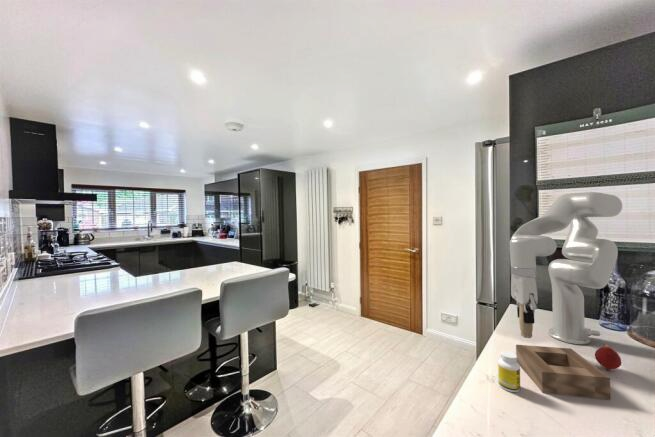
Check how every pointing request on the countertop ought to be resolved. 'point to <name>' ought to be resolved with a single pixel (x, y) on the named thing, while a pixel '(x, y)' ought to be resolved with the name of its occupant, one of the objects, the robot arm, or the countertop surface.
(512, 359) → the supplement bottle
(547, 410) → the countertop surface
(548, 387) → the well block
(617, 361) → the onion
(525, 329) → the handle
